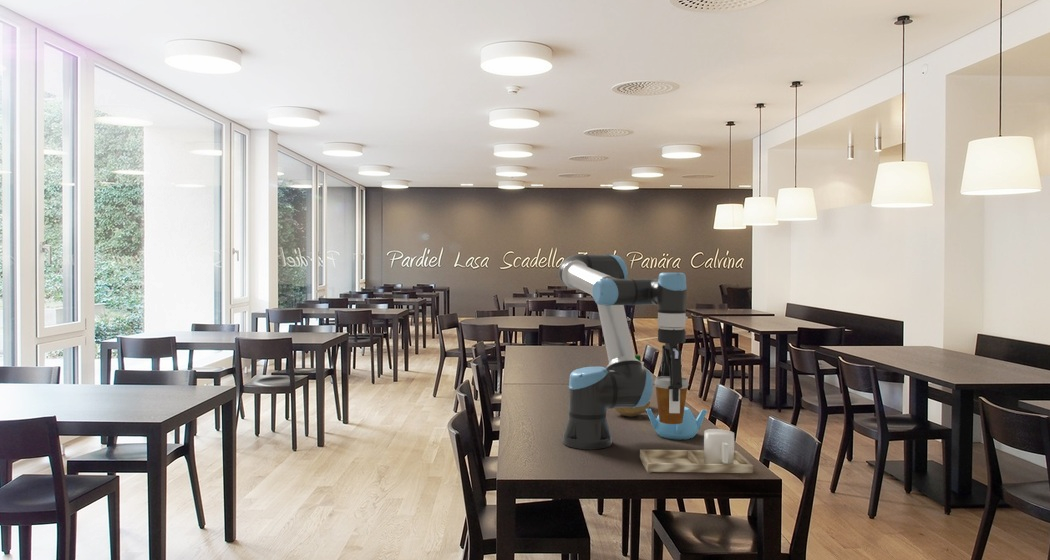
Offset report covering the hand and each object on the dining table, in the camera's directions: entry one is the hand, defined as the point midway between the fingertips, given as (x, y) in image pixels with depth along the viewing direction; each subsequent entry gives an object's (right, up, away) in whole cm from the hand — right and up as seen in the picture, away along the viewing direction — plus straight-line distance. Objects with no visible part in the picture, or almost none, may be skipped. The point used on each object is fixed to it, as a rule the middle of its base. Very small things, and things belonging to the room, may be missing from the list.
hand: (670, 408), depth 185 cm
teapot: (+9, -15, +35) cm, 39 cm away
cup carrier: (+7, -16, 0) cm, 17 cm away
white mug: (+13, -16, -1) cm, 21 cm away
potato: (-1, -15, +62) cm, 64 cm away
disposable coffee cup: (0, -4, 0) cm, 4 cm away
